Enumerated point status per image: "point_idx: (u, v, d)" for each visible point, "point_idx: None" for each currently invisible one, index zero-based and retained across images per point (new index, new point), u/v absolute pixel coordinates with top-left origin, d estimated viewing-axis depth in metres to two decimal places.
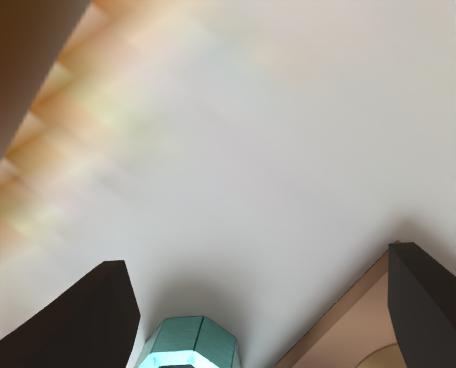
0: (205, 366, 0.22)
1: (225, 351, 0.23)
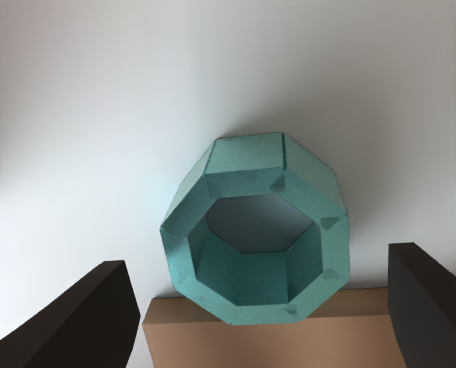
0: (334, 245, 0.12)
1: None
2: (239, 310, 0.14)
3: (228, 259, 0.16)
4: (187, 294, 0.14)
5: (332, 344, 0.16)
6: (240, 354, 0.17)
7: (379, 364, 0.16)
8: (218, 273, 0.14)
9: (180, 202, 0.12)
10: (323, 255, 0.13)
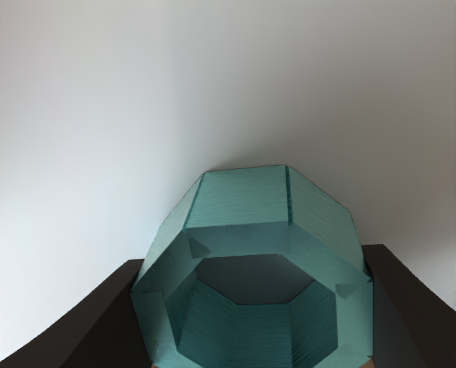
0: (353, 317, 0.10)
1: None
2: None
3: (219, 315, 0.13)
4: None
5: None
6: None
7: None
8: (206, 338, 0.12)
9: (155, 261, 0.10)
10: (339, 328, 0.10)
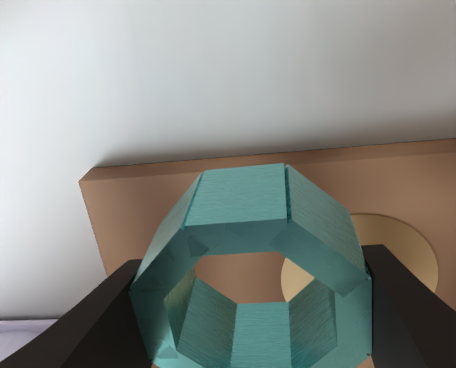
0: (352, 315, 0.10)
1: None
2: None
3: (218, 314, 0.13)
4: (166, 367, 0.11)
5: None
6: (166, 210, 0.19)
7: None
8: (205, 337, 0.12)
9: (153, 260, 0.10)
10: (338, 326, 0.10)
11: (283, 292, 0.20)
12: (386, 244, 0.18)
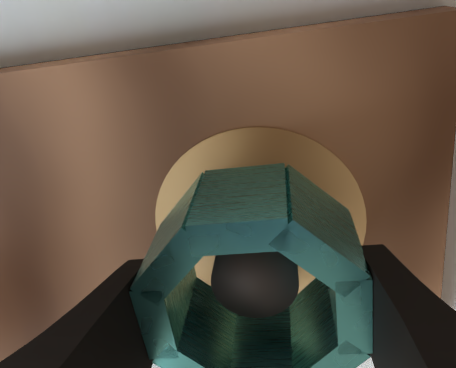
0: (353, 315, 0.10)
1: None
2: None
3: (219, 314, 0.13)
4: (167, 367, 0.11)
5: (88, 107, 0.13)
6: None
7: (150, 136, 0.13)
8: (206, 337, 0.12)
9: (154, 260, 0.10)
10: (338, 326, 0.10)
11: None
12: None
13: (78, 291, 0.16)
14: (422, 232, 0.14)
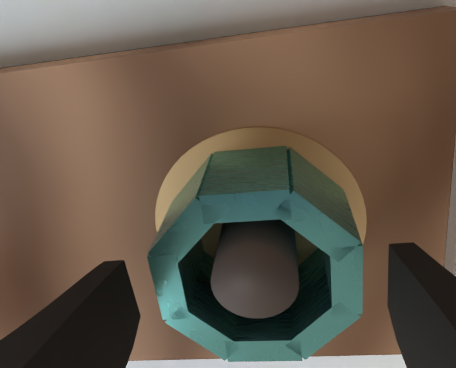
0: (346, 278, 0.11)
1: None
2: (236, 346, 0.12)
3: None
4: (178, 327, 0.12)
5: (88, 107, 0.13)
6: None
7: (150, 136, 0.13)
8: (213, 302, 0.13)
9: (170, 227, 0.11)
10: (332, 288, 0.11)
11: None
12: None
13: None
14: (422, 232, 0.14)
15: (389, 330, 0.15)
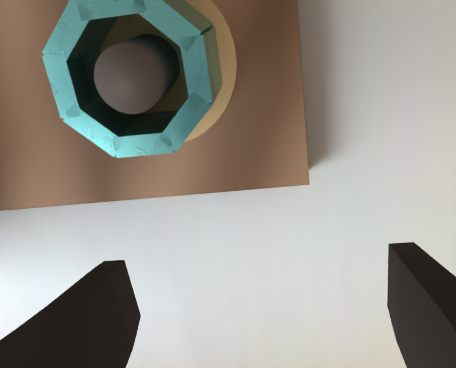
0: (195, 67, 0.14)
1: (216, 80, 0.15)
2: (121, 141, 0.15)
3: None
4: (73, 125, 0.15)
5: None
6: None
7: None
8: (107, 114, 0.16)
9: (57, 26, 0.14)
10: (186, 78, 0.14)
11: None
12: None
13: (10, 136, 0.19)
14: (282, 64, 0.17)
15: (268, 162, 0.18)
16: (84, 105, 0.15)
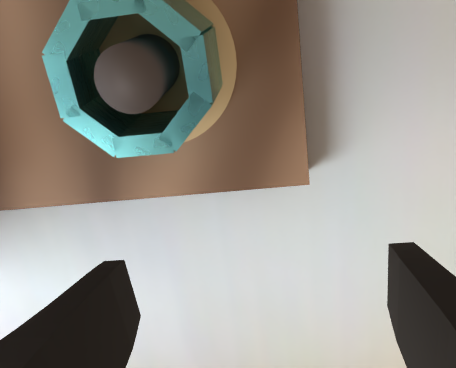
0: (195, 67, 0.14)
1: (216, 80, 0.15)
2: (121, 141, 0.15)
3: None
4: (73, 125, 0.15)
5: None
6: None
7: None
8: (107, 114, 0.16)
9: (57, 26, 0.14)
10: (186, 78, 0.14)
11: None
12: None
13: (10, 136, 0.19)
14: (282, 64, 0.17)
15: (268, 162, 0.18)
16: (84, 105, 0.15)
